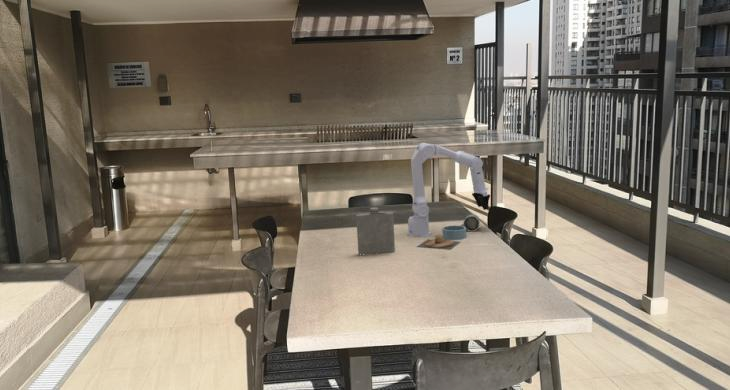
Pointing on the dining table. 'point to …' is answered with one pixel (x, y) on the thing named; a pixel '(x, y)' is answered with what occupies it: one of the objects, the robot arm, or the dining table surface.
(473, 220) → the ceramic mug
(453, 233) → the slate-blue bowl
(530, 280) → the dining table surface
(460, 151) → the robot arm
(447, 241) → the walnut cover
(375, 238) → the hip flask
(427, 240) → the rubber mat
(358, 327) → the dining table surface
